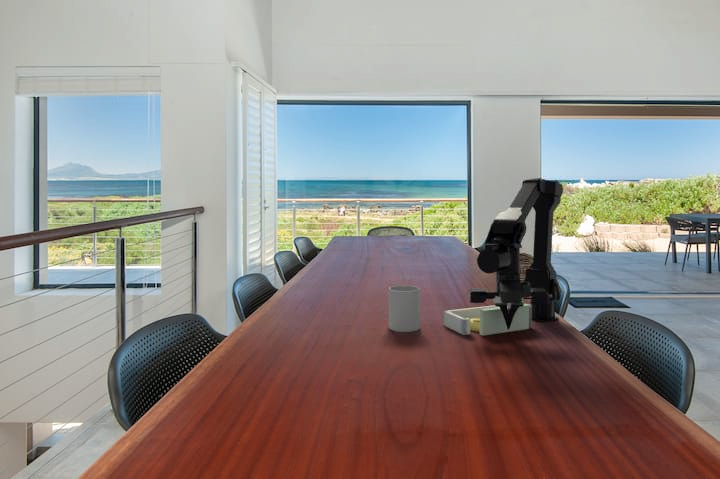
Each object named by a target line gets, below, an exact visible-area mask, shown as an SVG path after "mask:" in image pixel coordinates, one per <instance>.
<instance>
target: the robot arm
mask: <svg viewBox="0 0 720 479" xmlns="http://www.w3.org/2000/svg"><path fill="white" fill-rule="evenodd" d="M563 191H564V188H563V185H562V183H560V182H559V180H558V179H554V180H548V179H545V178H541V177H531V178H526V179H523V181H522V185H521V187H520V189H519V191H518V193H517V194H516V196H515V197H514V199H513V200H512V202H511V204H510V206H509V207H508V208H507V209H506V210H503V211H502V212H500V213H499V214H498V215H497V216H496V217H495V218H494V219H493V221H492V222H491V224H490V228H489V230H488V232H487V236H486V239H485V242H484V249H483V250H481V251H480V252H479V254H478V256H477V259H476V263H477V264H476V265H477V266H478V268H479V270H480V271H481V272H483V273H485V274H494V273H495V291H487V290H486V288H485V287H471V288H470V289H469V290H468V291H469V293H468V294H469V296H468V297H469V298H468V299H469V303H472V304H484V303H485V302H487V300H492V302H493V305H495V306H499V307H500V309H501V311H502V314H503V317H504V320H505V323H506V326H507V329H510V326H511V323H512V320H513V317H514V315H515V313H516V311H517V309H518V308H519V307H522V306H524V304H525V303H524V302H523V301H524V300H530V302H529V304H532V320H536V321H537V322H542V323H543V322H550V321H557V320H558V321H559V320H560V317H558V316H556V301H561V300H562V293H563V292H562V287H561V286H560V284H559V282H558V279H557V272H556V270H555V268H554V266H553V265H552V250H553V249H552V246H553V245H552V243H553V230H554V229H553V227H554V226H553V225H554V212H555V211H556V209H557V208H558V207H559V205H560V204H561V200H562V199H561V198H562V196H563ZM532 208H533V210H534V212H535V213H534V215H535V216H534V217H535V218H534V232H533V233H534V234H533V235H534V236H533V254H532V255H533V256H532V263H531V265H530V266H529V267H527V268H526V269H525V277H524V280H523V281H522V282H521V264H520V262H521V259H520V258H521V256H520V255H521V254H520V253H521V252H520V251H521V250H520V249H522V248H523V245H522V241H523V240H524V237H525V236H526V232H527V224H526V220H527V218H528V216H529V214H530V212H531V211H532ZM507 306H508V308H507Z"/></svg>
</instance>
